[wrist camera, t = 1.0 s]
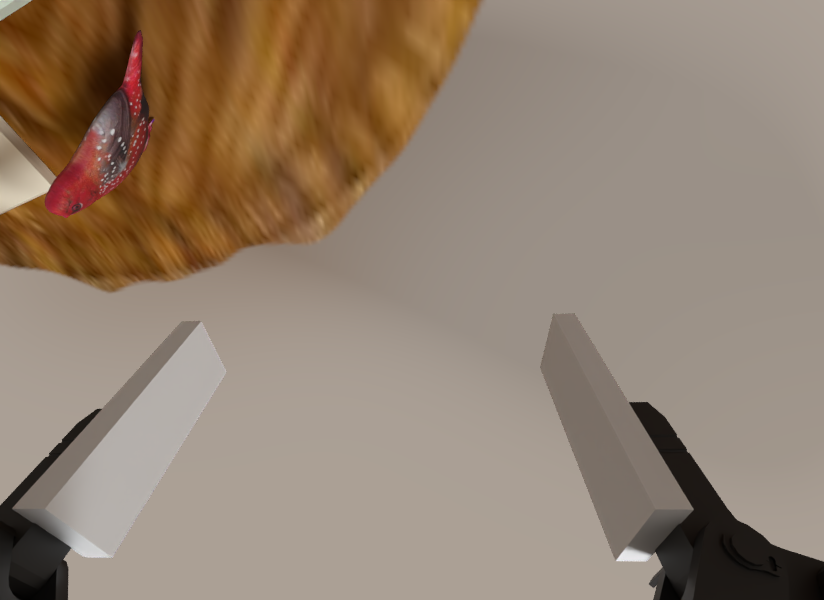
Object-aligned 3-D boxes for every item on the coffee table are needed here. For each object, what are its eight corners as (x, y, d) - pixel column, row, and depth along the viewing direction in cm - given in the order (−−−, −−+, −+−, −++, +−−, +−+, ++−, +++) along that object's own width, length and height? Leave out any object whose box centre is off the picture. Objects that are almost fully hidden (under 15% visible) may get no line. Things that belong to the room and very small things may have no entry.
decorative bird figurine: (112, 182, 37) (23, 216, 28) (171, 21, 29) (72, 5, 21) (141, 199, 38) (62, 238, 30) (204, 49, 30) (123, 44, 22)
